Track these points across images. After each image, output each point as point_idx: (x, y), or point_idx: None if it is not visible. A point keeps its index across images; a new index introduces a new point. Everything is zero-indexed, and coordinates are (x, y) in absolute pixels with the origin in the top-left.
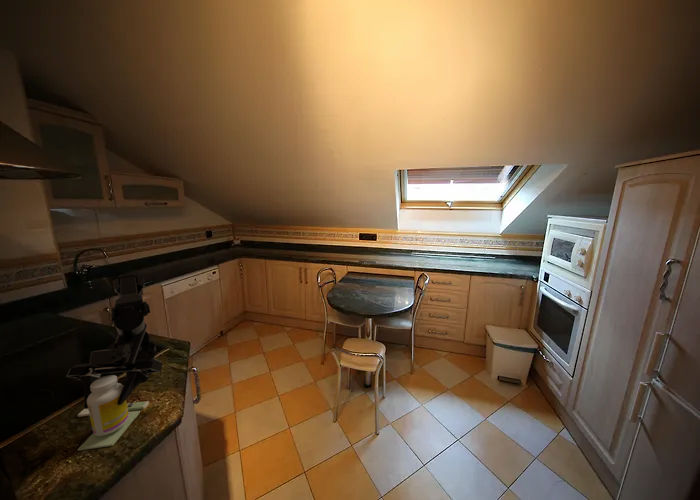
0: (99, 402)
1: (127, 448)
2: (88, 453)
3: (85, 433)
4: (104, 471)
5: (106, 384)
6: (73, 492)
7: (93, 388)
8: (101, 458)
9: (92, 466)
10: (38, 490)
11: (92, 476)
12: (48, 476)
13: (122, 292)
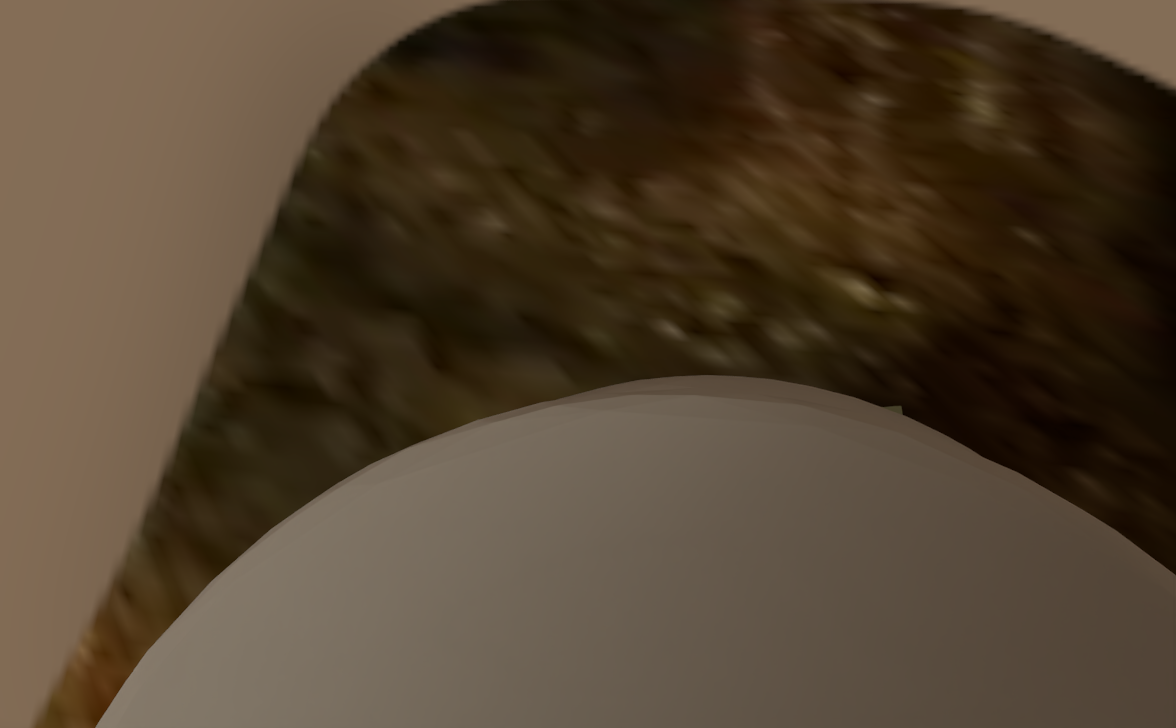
0: (558, 399)
1: (330, 387)
2: (730, 364)
3: None
4: (394, 160)
5: (182, 650)
6: (522, 5)
7: (792, 406)
8: (528, 292)
9: (551, 214)
10: (867, 25)
11: (470, 122)
12: (920, 140)
13: None
